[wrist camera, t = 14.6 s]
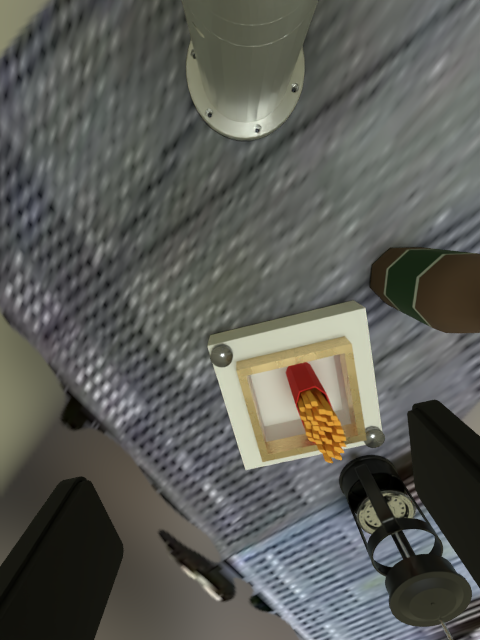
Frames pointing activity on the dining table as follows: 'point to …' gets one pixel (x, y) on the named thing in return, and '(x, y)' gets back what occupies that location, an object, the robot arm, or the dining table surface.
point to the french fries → (316, 411)
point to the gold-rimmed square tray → (273, 387)
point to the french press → (404, 548)
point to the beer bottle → (431, 286)
